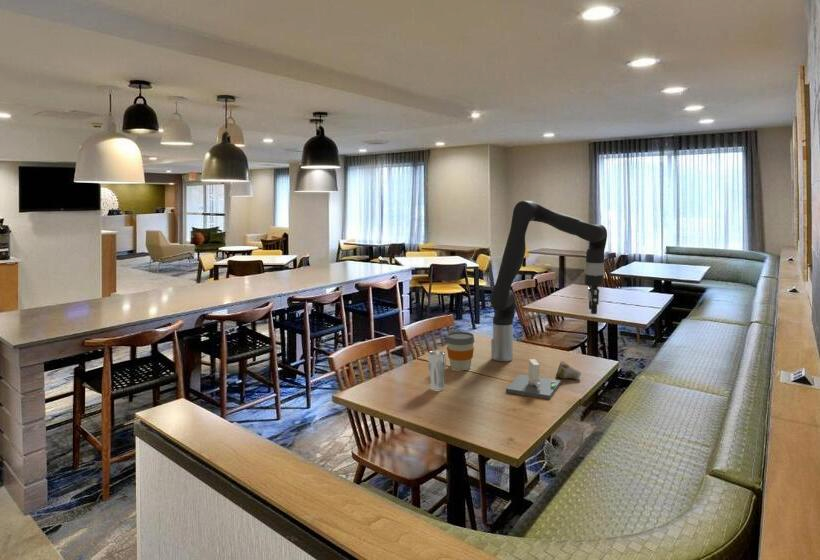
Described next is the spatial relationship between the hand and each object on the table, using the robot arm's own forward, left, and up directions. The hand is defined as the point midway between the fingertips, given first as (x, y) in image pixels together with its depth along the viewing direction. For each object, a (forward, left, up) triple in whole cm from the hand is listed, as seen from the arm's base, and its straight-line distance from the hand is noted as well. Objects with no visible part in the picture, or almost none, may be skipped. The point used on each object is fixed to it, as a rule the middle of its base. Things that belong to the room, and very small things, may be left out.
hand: (592, 311), depth 216 cm
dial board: (-17, -26, -27) cm, 41 cm away
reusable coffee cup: (-54, -15, -28) cm, 62 cm away
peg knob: (-16, -27, -25) cm, 41 cm away
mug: (-8, -9, -28) cm, 30 cm away
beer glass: (-52, -43, -28) cm, 73 cm away
